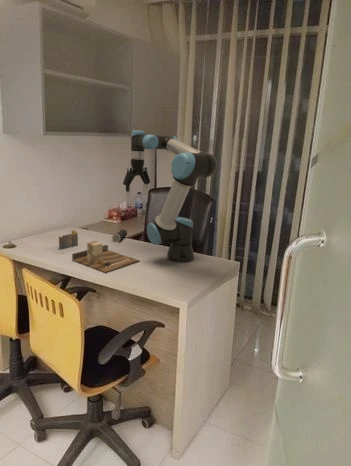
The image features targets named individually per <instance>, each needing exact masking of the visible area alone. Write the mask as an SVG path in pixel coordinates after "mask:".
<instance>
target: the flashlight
mask: <svg viewBox="0 0 351 466" xmlns="http://www.w3.org/2000/svg"><path fill="white" fill-rule="evenodd" d="M127 235H128V231H127V230H126V229H124V228H123V229H120V230H119V232H116V233H114V234H113V235H112V236H111V240H112V241H113V242H114V243H119V242H120V241H122V239H124V238H125V237H127Z"/></svg>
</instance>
